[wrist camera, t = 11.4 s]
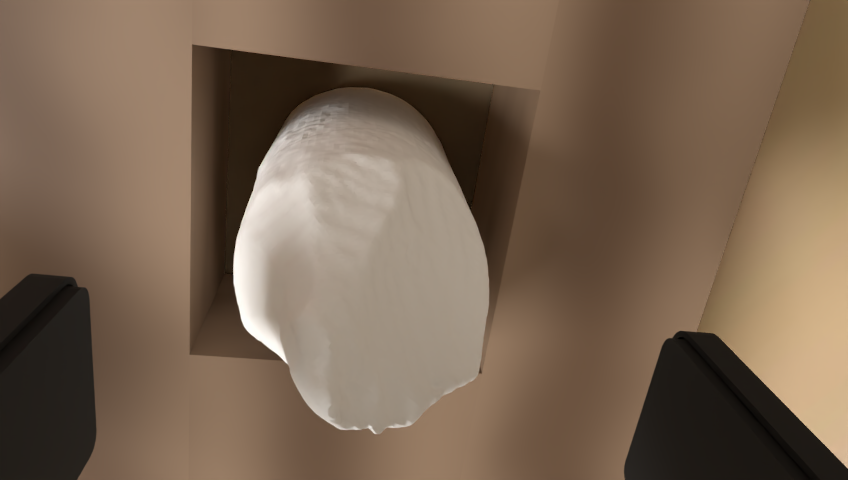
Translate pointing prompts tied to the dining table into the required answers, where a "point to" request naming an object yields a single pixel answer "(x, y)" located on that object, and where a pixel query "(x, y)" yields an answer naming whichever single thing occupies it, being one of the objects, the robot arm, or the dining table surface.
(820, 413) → the dining table surface
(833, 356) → the dining table surface
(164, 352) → the well block
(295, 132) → the white rounded piece
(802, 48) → the dining table surface
